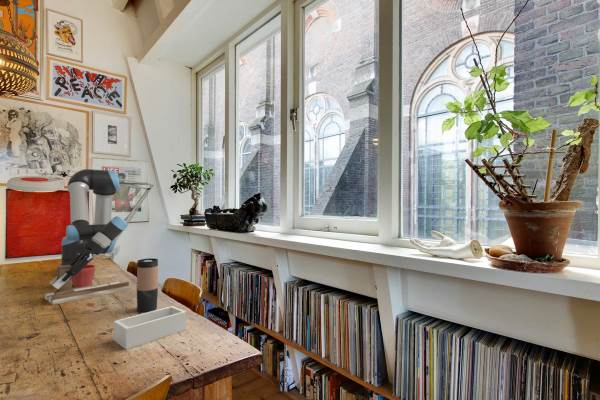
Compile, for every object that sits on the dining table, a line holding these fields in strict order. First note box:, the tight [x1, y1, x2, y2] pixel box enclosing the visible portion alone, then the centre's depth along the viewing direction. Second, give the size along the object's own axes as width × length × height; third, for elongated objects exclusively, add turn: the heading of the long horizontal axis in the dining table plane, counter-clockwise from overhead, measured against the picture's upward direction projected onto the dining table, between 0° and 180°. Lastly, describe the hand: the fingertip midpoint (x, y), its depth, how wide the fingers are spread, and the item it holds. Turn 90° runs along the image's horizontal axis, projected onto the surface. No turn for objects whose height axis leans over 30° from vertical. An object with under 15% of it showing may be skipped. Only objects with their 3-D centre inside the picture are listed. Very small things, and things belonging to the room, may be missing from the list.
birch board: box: [43, 280, 130, 306], centre depth 147 cm, size 14×30×4 cm, turn 140°
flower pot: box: [72, 264, 96, 288], centre depth 162 cm, size 11×11×10 cm
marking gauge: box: [53, 265, 75, 295], centre depth 138 cm, size 7×6×12 cm
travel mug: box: [136, 257, 159, 314], centre depth 127 cm, size 8×8×20 cm
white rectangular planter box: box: [113, 305, 188, 350], centre depth 103 cm, size 9×19×6 cm, turn 140°
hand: (53, 286), depth 135 cm, fingers closed on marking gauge, 4 cm apart
